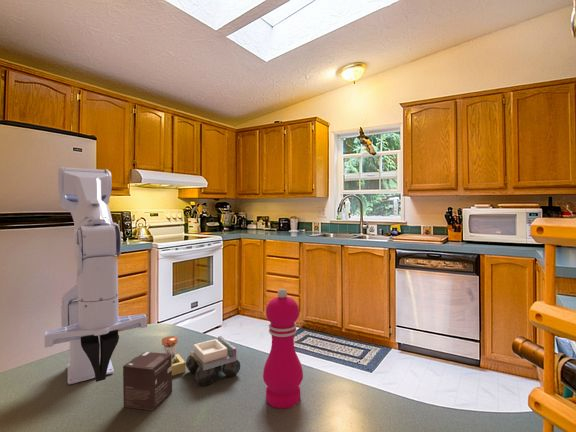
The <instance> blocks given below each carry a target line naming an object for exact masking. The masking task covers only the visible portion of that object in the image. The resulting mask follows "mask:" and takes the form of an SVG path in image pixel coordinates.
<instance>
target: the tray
mask: <svg viewBox="0 0 576 432" xmlns="http://www.w3.org/2000/svg"><path fill="white" fill-rule="evenodd" d="M193 350H194V353H195V354H196V355H197V356H198V357H199V358H200V359H201V360H202V361H203V362H204V363H205V362H209V361H212V360H216V359H219V358H223V357H226V356H227V348H226V347H225V346H224V345H223V344H222V343H220V342H219V341H218V338H214V339H211V340H210V339H209V340H205V341H203V342H198V343H195V344H193Z"/></svg>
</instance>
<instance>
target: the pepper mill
mask: <svg viewBox="0 0 576 432" xmlns="http://www.w3.org/2000/svg"><path fill="white" fill-rule="evenodd" d="M265 316H266V319H267V320H268V321H269V324H268V328H269V329H268V333H269V334H270V335H271V347H270V351H269V353H268V356H267V359H266V361H265V364H264V365H263V366H264V367H263V371H262V372H263V373H262V378H263V382H264V383H265V385H266V388H265V399H266V402H267V404H268V405H270V406H271V407H273V408H276V409H289V408H293V407H294V406H297V405H298V404H299V402H300V400H301V387H300V385H301V383H302V381H303V378H304V373H303V372H304V371H303V366H302V362H301V361H300V359H299V357H298V355H297V352H296V349H295V340H294V339H295V335H296V333H297V330H298V329H297V323H296V321H297V320H298V318H299V316H300V308H299V304H298V303H297V301H296V300H294V298H291V297H289V296H288V291H287V289H286V288H279V289H278V291H277V296H276V297H274V298H271V299H270V300H269V302H268V304H266V309H265Z"/></svg>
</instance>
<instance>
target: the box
mask: <svg viewBox="0 0 576 432" xmlns="http://www.w3.org/2000/svg"><path fill="white" fill-rule="evenodd" d="M122 369H123V370H122V377H123V378H122V381H123V384H122V386H123V387H122V389H123V391H122V392H123V393H122V394H123V407H124V408H130V409H131V408H132V409H138V410H139V409H141V410H147V411H154V410H155V409H157V408H158V407H159V406H160V405H161V404H162V403H163V402H164V401H165V400H166V399H167V398H168V397H169V396H170V395H171V394H172V392H173V376H172V361H171V354H165V353H164V352H162V353H161V352H152V351H144V352H142V353H141V354H139V355H137V356H135V357H134V358H132V359H131V360H130V361H128V362H126V364H124V365H122Z"/></svg>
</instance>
